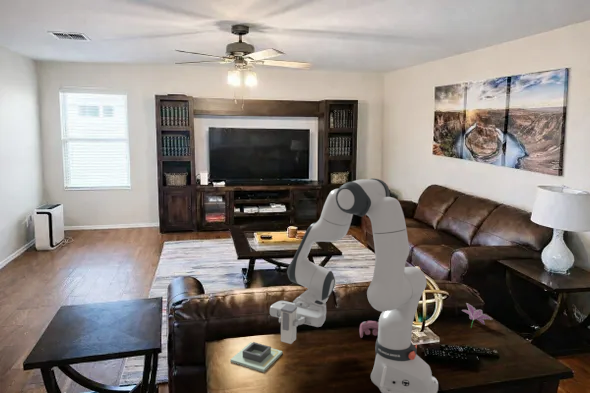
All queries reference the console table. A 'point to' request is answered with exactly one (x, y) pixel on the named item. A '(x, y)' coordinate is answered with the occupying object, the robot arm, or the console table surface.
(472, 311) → the lily
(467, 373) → the console table surface
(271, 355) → the board
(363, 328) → the video game controller
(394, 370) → the robot arm
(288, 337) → the plug
